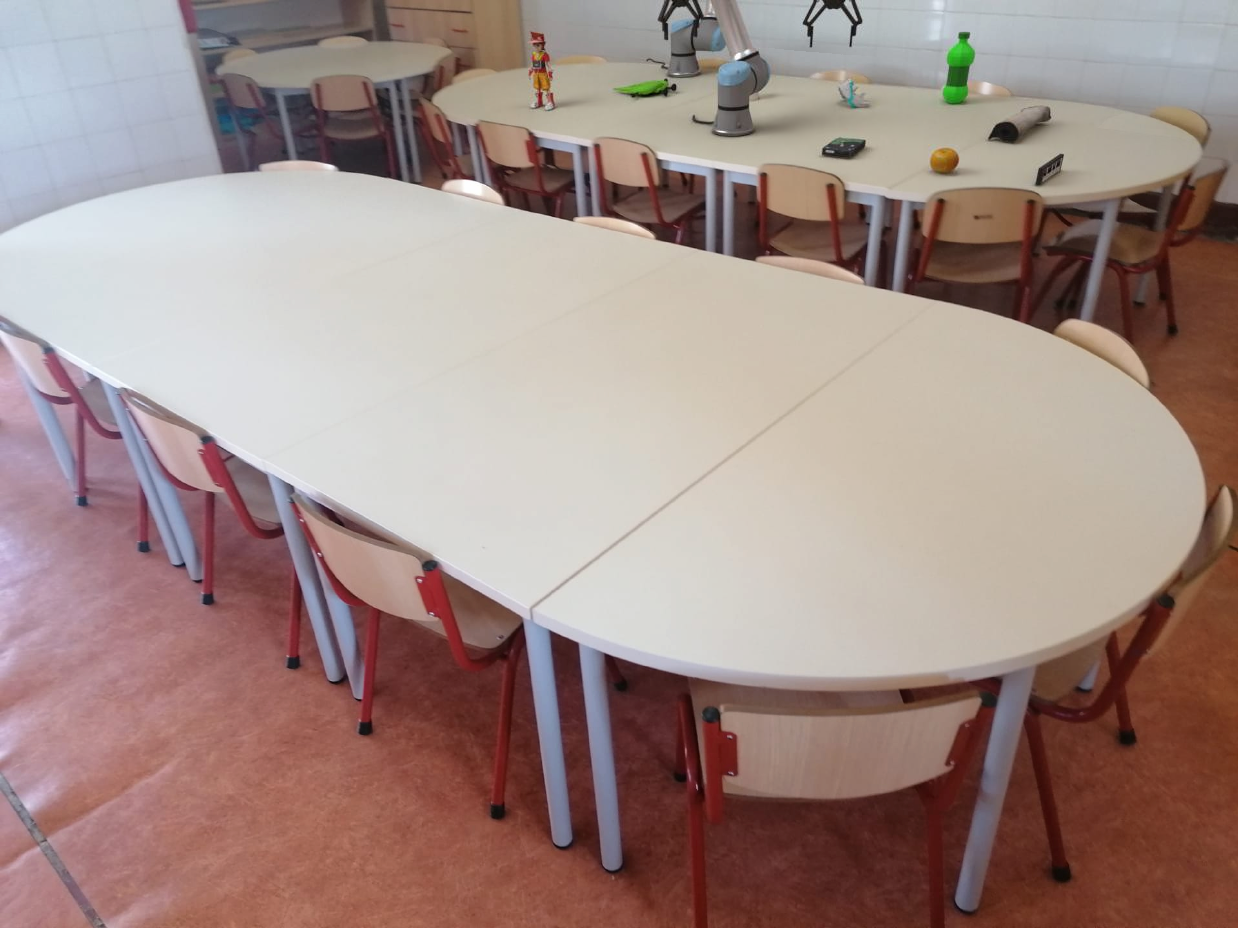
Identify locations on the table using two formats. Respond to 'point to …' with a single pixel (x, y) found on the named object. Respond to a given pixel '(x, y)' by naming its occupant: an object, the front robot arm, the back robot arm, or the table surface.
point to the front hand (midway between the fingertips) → (830, 47)
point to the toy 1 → (541, 71)
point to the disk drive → (843, 147)
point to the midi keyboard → (1049, 169)
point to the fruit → (944, 160)
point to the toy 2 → (648, 88)
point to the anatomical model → (851, 94)
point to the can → (753, 96)
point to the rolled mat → (1020, 123)
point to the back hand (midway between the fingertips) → (680, 38)
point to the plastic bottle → (958, 69)
